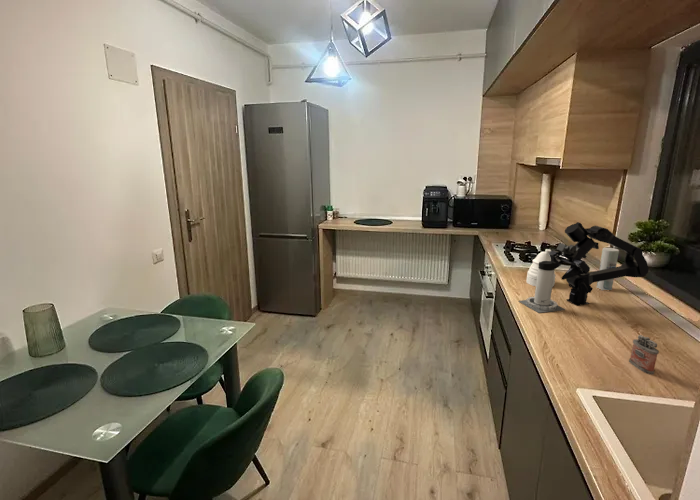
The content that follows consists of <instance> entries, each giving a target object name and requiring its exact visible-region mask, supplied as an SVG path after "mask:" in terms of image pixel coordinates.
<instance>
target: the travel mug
mask: <svg viewBox="0 0 700 500" xmlns="http://www.w3.org/2000/svg"><path fill="white" fill-rule="evenodd" d="M555 264H556V262H553V261H542V262H539V266H538V273H537V281H536V286H535V291H534V296H533V297H534V304H536V305H539V306H550V299H551V300H552V290H553V287H552V285H553V277H554V273H555V272H554V271H555V270H556V269H555V268H554V267H555Z"/></svg>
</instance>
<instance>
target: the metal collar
mask: <svg viewBox="0 0 700 500" xmlns="http://www.w3.org/2000/svg"><path fill="white" fill-rule="evenodd" d="M534 297H535V296H529V297H528V298H527V297H526V299H525V300H526V304H527V305H528V306H530V307H532V308H535V309H538V310H546V311H550V310H555V309H556V308H557V307H558V306H559V304H558V302H557V301H556V300H553V299H552V298H551V299H550V304H552V305H553V306H539V305H536V304H533V303H531V301H534Z"/></svg>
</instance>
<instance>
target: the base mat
mask: <svg viewBox="0 0 700 500" xmlns="http://www.w3.org/2000/svg"><path fill="white" fill-rule="evenodd" d="M518 302H519V304H520V303H521V304H522V305H523V306H526V307H527V308H528V309H531V310H532V311H534V312H536V313H538V314H544V313H551V312H560V311H566V308H564V307H562V306H559V305H558V307H557V308H556V309H555V310H550V311H546V310H538V309H535V308H532V307H530V306H528V305H527V304H526V299H522V300H518ZM531 303H533V304H534V301H531ZM550 306H553V305H552V304H550Z"/></svg>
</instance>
